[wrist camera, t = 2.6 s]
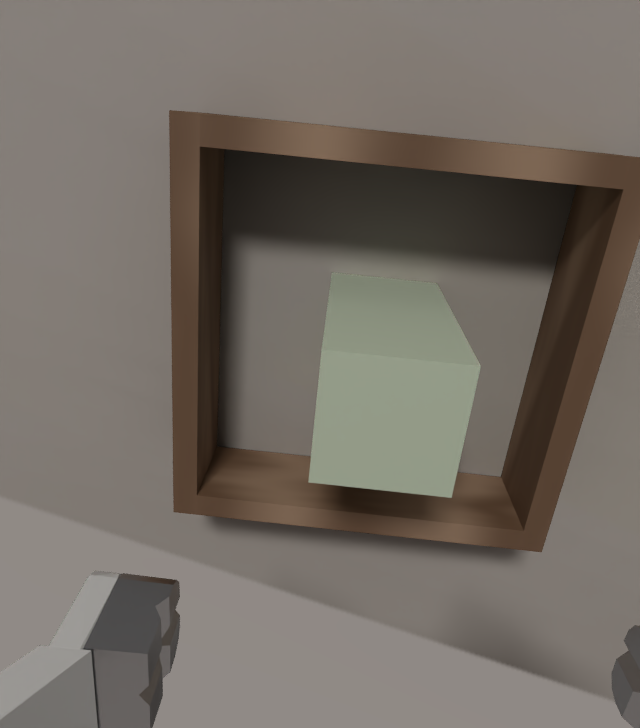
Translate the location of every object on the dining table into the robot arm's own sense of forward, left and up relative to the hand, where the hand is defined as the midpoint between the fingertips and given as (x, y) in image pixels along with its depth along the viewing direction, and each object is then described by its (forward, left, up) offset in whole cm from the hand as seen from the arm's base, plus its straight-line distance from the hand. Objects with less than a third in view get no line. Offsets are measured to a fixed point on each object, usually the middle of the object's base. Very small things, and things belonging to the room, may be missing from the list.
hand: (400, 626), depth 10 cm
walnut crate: (0, 0, -16) cm, 16 cm away
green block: (0, 0, -16) cm, 16 cm away
